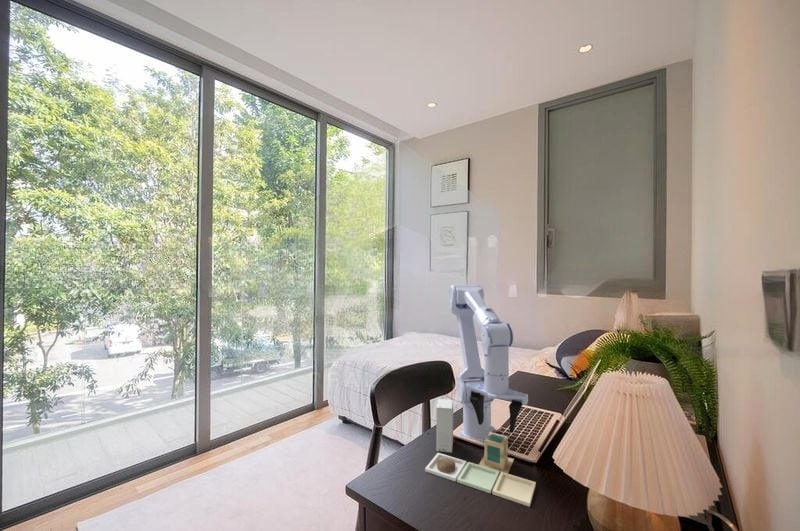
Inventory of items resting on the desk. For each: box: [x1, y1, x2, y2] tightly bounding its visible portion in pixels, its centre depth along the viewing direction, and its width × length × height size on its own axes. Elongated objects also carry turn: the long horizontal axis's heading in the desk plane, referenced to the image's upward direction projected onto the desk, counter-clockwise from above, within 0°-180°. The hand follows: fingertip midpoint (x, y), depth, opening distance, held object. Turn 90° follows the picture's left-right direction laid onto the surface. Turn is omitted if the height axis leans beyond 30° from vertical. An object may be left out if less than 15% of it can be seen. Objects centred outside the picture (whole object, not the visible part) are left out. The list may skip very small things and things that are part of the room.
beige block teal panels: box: [483, 432, 509, 470], centre depth 85 cm, size 5×4×6 cm
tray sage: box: [456, 461, 500, 494], centre depth 79 cm, size 8×8×1 cm
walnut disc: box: [437, 458, 455, 473], centre depth 83 cm, size 4×4×1 cm
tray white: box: [424, 452, 468, 482], centre depth 83 cm, size 8×8×1 cm
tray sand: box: [491, 472, 537, 508], centre depth 75 cm, size 8×8×1 cm
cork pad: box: [478, 455, 515, 474], centre depth 85 cm, size 7×7×1 cm
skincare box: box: [435, 398, 454, 453], centre depth 93 cm, size 6×4×12 cm
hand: (496, 426), depth 85 cm, fingers open, 7 cm apart
